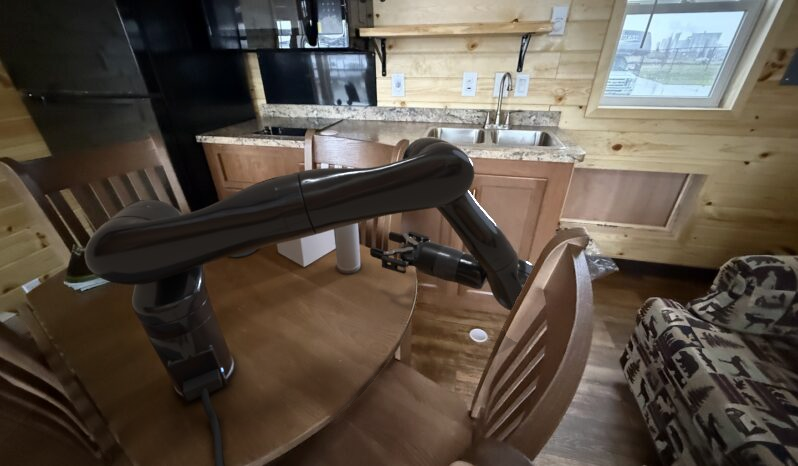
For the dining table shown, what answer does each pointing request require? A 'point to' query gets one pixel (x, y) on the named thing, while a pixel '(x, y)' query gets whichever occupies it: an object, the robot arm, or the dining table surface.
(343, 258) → the travel mug
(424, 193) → the robot arm
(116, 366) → the dining table surface
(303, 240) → the white box
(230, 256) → the coaster
